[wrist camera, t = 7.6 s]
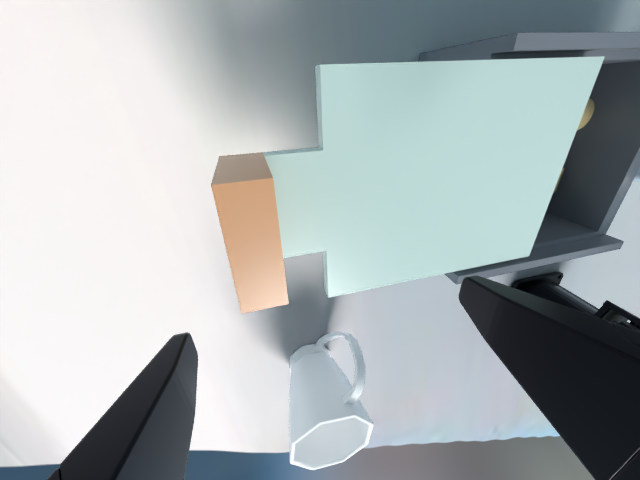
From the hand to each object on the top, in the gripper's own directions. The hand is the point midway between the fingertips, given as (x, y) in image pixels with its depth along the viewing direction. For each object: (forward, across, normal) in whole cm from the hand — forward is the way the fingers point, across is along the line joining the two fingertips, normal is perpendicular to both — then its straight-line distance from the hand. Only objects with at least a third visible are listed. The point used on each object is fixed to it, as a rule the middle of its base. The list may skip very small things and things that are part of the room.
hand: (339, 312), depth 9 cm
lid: (+6, -6, -2) cm, 9 cm away
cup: (+13, -1, +16) cm, 21 cm away
